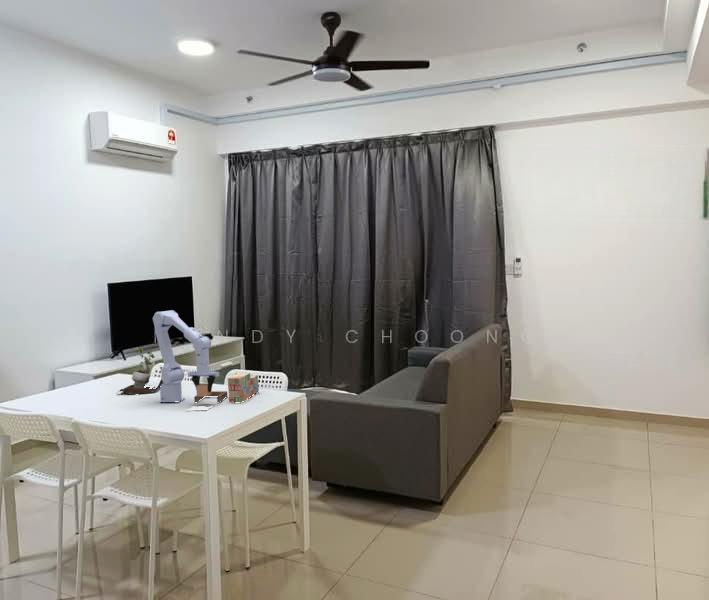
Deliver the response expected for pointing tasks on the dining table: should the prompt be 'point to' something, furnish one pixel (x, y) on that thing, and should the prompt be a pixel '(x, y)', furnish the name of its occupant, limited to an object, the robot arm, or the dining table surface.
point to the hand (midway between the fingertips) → (204, 391)
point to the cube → (202, 389)
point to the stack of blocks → (242, 386)
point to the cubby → (220, 395)
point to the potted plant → (141, 377)
